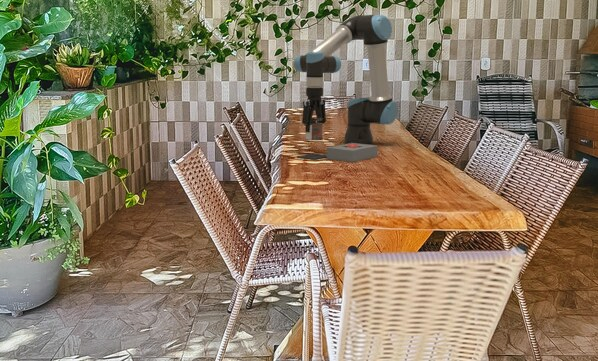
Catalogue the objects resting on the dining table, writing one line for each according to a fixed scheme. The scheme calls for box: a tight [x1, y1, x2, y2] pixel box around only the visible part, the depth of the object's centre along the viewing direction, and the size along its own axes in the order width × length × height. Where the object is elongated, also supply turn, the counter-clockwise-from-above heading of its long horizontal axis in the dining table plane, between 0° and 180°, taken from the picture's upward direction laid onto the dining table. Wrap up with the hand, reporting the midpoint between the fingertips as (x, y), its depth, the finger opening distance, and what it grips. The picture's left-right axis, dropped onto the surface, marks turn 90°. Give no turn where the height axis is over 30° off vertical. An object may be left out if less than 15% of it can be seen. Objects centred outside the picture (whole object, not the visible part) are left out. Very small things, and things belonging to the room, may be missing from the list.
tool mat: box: [296, 152, 327, 161], centre depth 315 cm, size 12×10×1 cm
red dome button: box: [346, 143, 358, 148], centre depth 313 cm, size 5×5×5 cm
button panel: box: [326, 143, 379, 163], centre depth 314 cm, size 20×14×5 cm
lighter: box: [304, 117, 324, 142], centre depth 312 cm, size 8×3×10 cm, turn 105°
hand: (313, 138), depth 313 cm, fingers closed on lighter, 7 cm apart
